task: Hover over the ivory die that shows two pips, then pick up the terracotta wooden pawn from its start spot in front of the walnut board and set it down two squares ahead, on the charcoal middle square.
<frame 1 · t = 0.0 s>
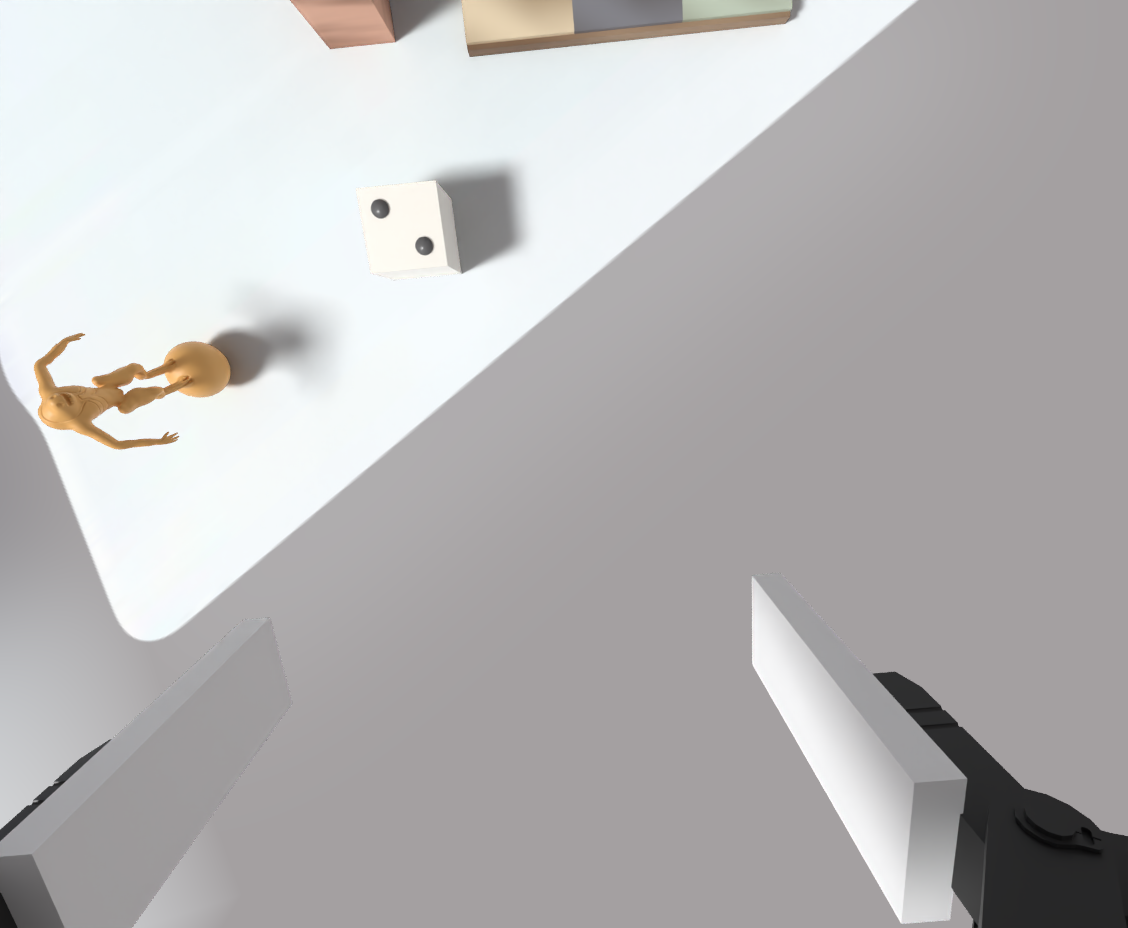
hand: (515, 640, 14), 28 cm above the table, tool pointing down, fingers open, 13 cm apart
die: (422, 240, 38), on the table
pawn: (356, 6, 34), on the table
figurine: (207, 375, 40), on the table
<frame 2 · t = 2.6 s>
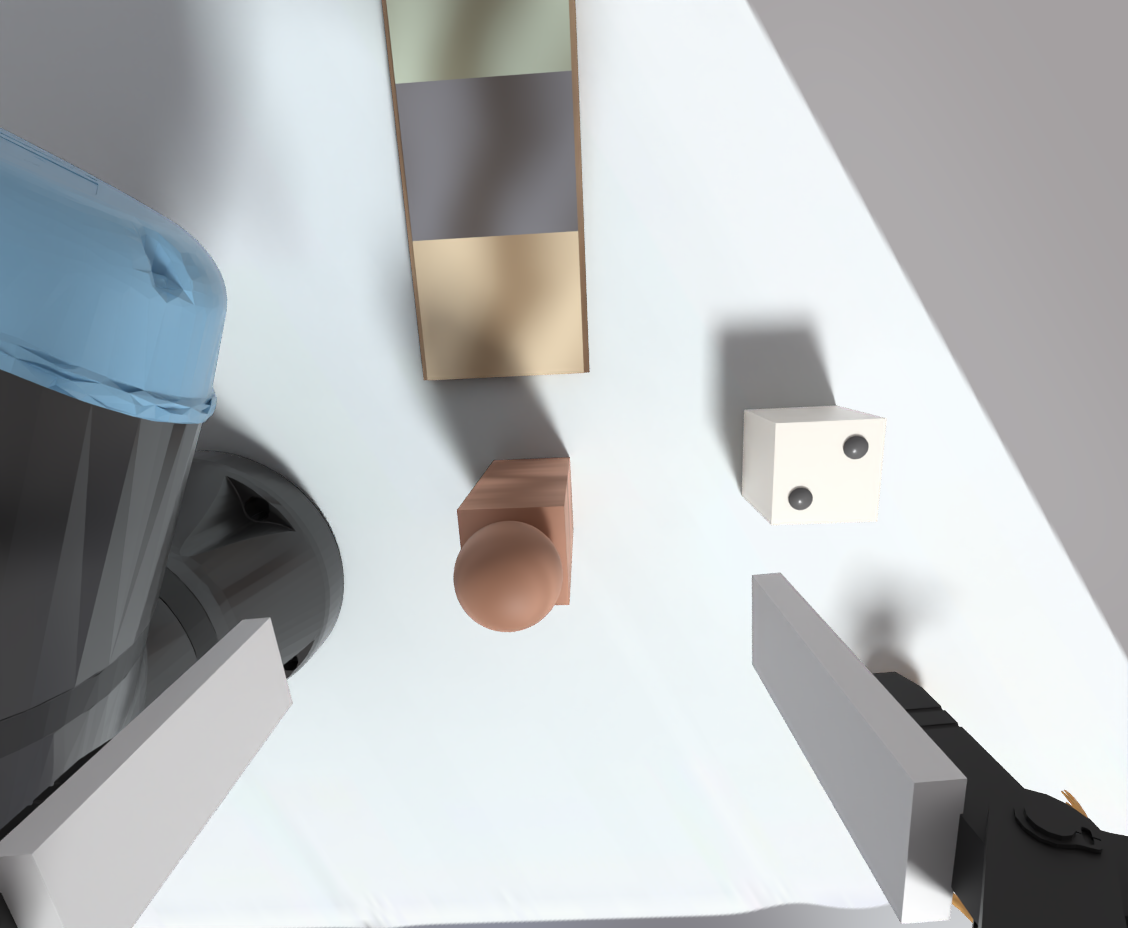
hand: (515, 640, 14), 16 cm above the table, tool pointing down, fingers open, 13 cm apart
die: (787, 451, 29), on the table
pawn: (534, 495, 31), on the table
board: (492, 166, 27), on the table
figurine: (900, 721, 33), on the table
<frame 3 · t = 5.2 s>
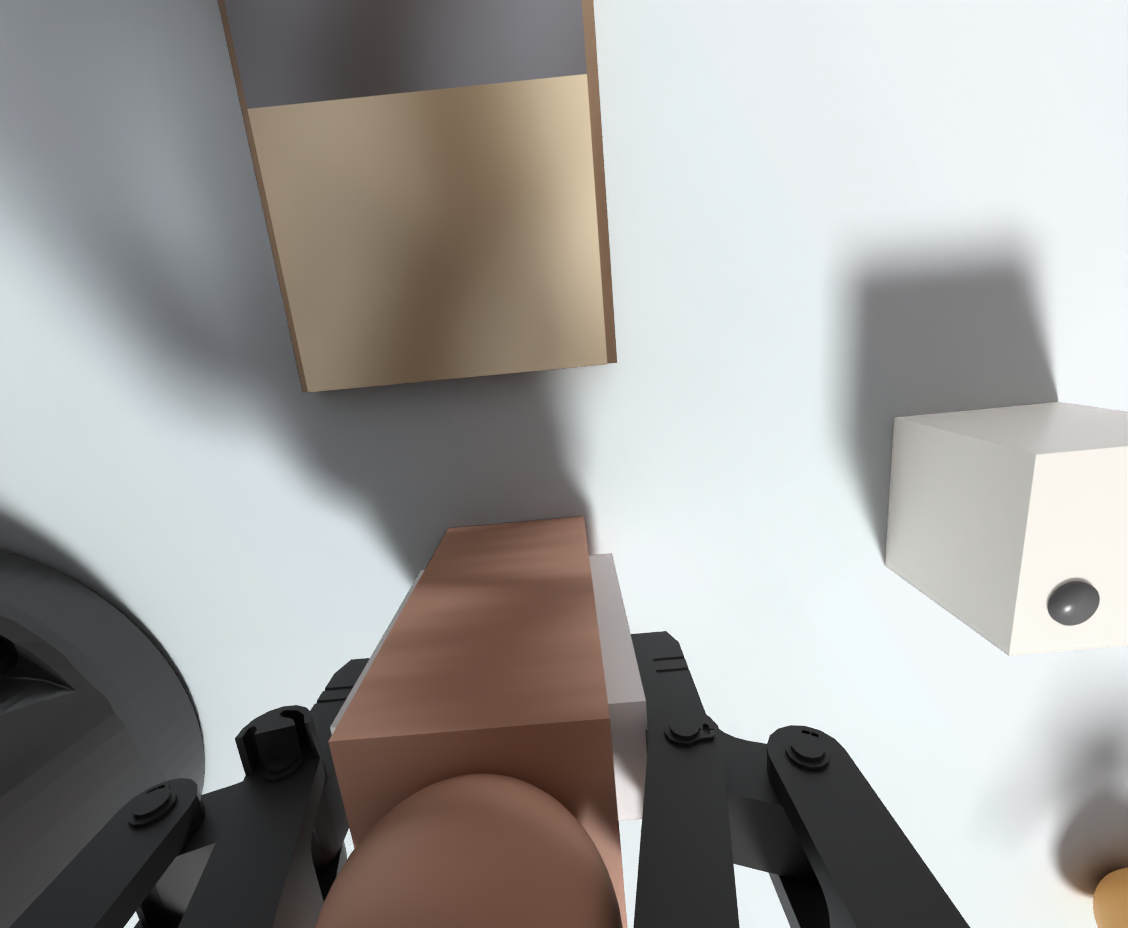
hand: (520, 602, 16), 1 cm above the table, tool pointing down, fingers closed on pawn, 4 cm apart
die: (966, 486, 17), on the table
pawn: (523, 584, 17), on the table, touching gripper
figurine: (1119, 890, 21), on the table
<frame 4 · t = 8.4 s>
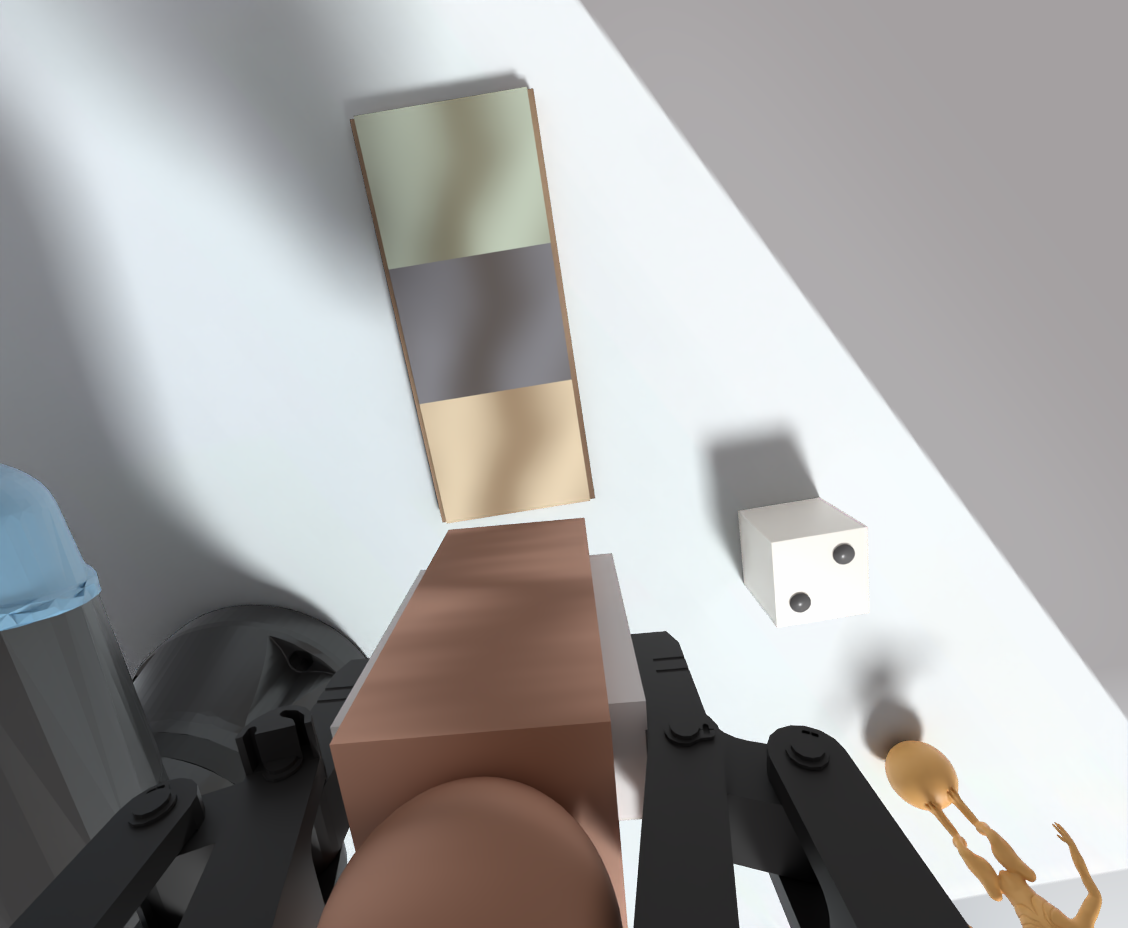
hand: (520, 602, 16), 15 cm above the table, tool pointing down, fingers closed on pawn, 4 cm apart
die: (780, 541, 32), on the table
pawn: (523, 585, 17), point 14 cm above the table, touching gripper
board: (485, 326, 29), on the table
figurine: (906, 757, 37), on the table
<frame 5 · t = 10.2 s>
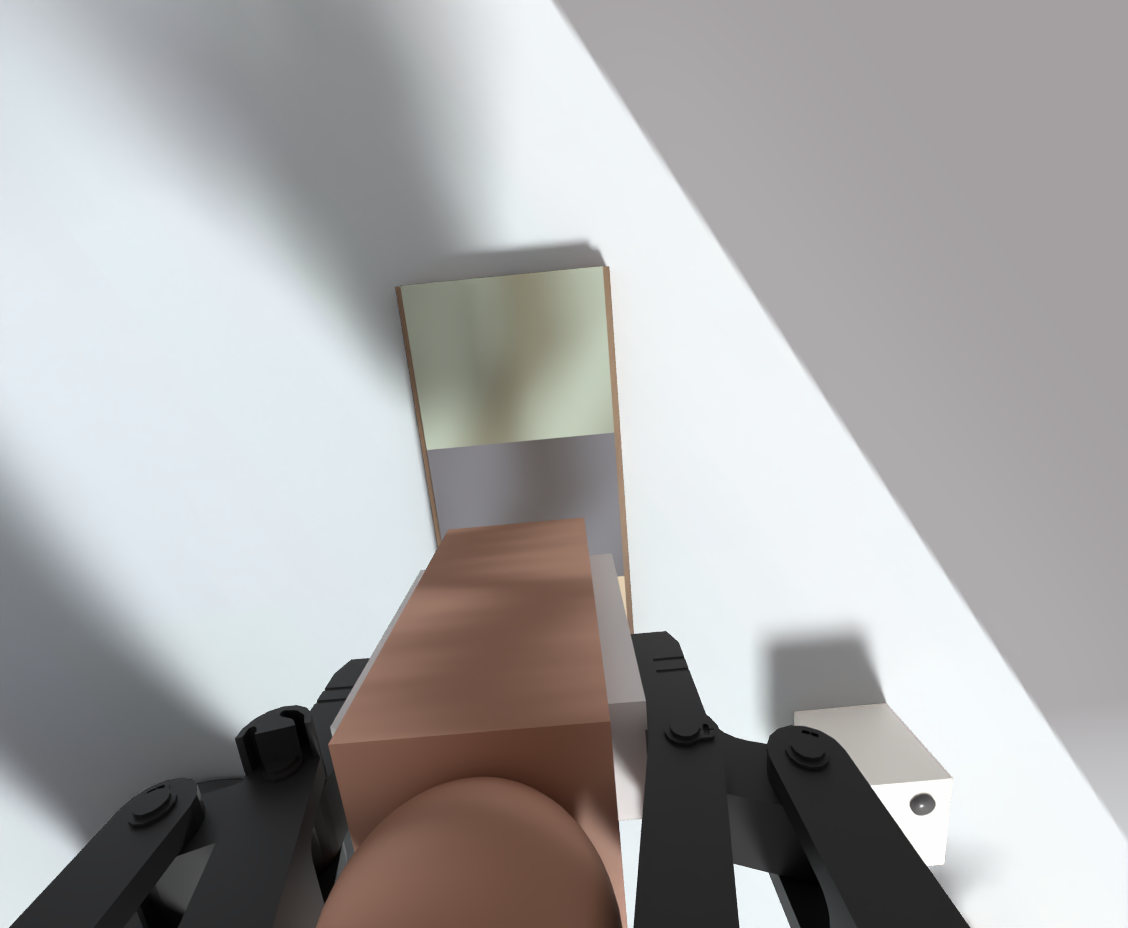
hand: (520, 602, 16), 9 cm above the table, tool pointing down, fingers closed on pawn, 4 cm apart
die: (837, 744, 29), on the table
pawn: (523, 585, 17), point 8 cm above the table, touching gripper
board: (530, 507, 25), on the table
when the fingers open (3 cm above the table, at t = 11.9 s): pawn stays where it is, resting on board.
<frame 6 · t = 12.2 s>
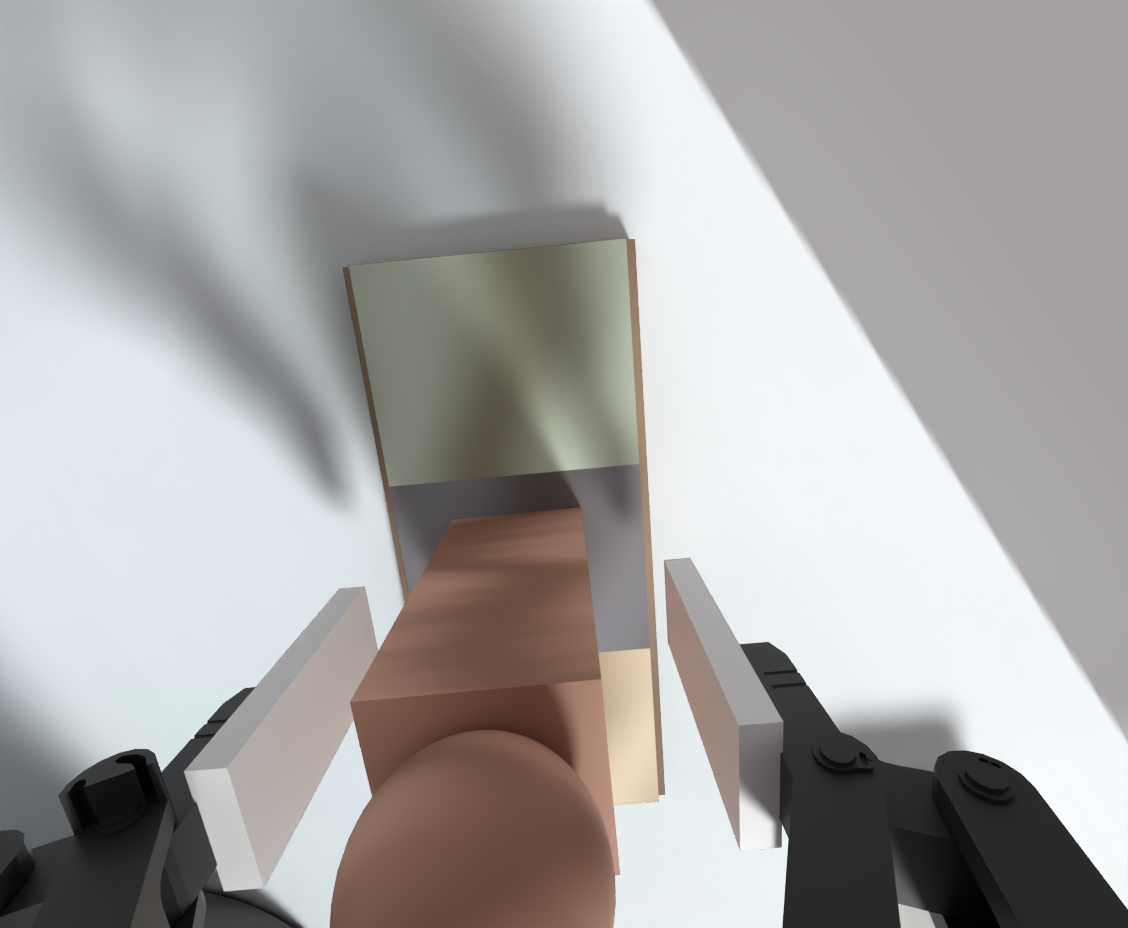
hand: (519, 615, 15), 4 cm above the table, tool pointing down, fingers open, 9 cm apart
die: (913, 847, 23), on the table
pawn: (524, 572, 18), point 1 cm above the table, touching board
board: (527, 557, 19), on the table
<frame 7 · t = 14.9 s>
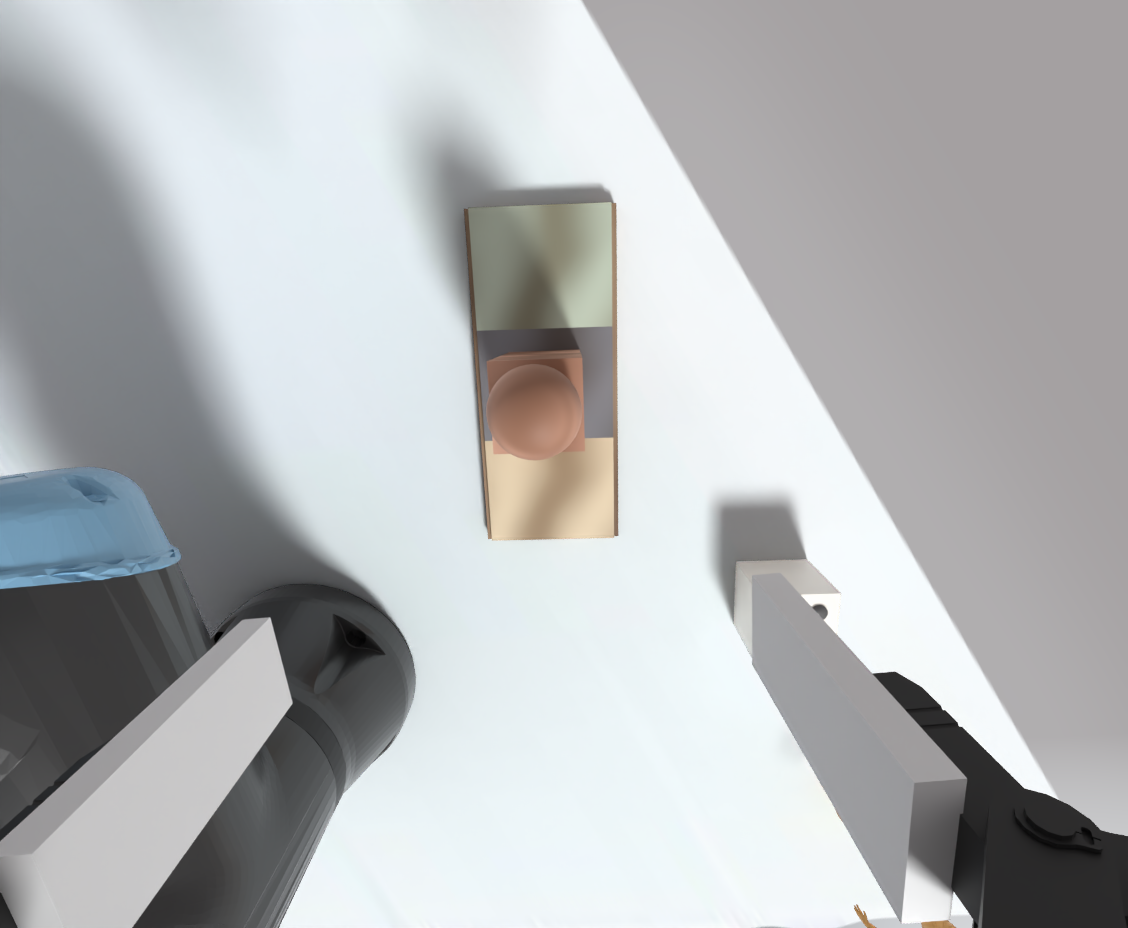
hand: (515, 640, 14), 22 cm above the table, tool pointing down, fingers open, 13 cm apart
die: (768, 591, 38), on the table
pawn: (546, 386, 33), point 1 cm above the table, touching board
board: (547, 383, 34), on the table
figurine: (852, 789, 42), on the table
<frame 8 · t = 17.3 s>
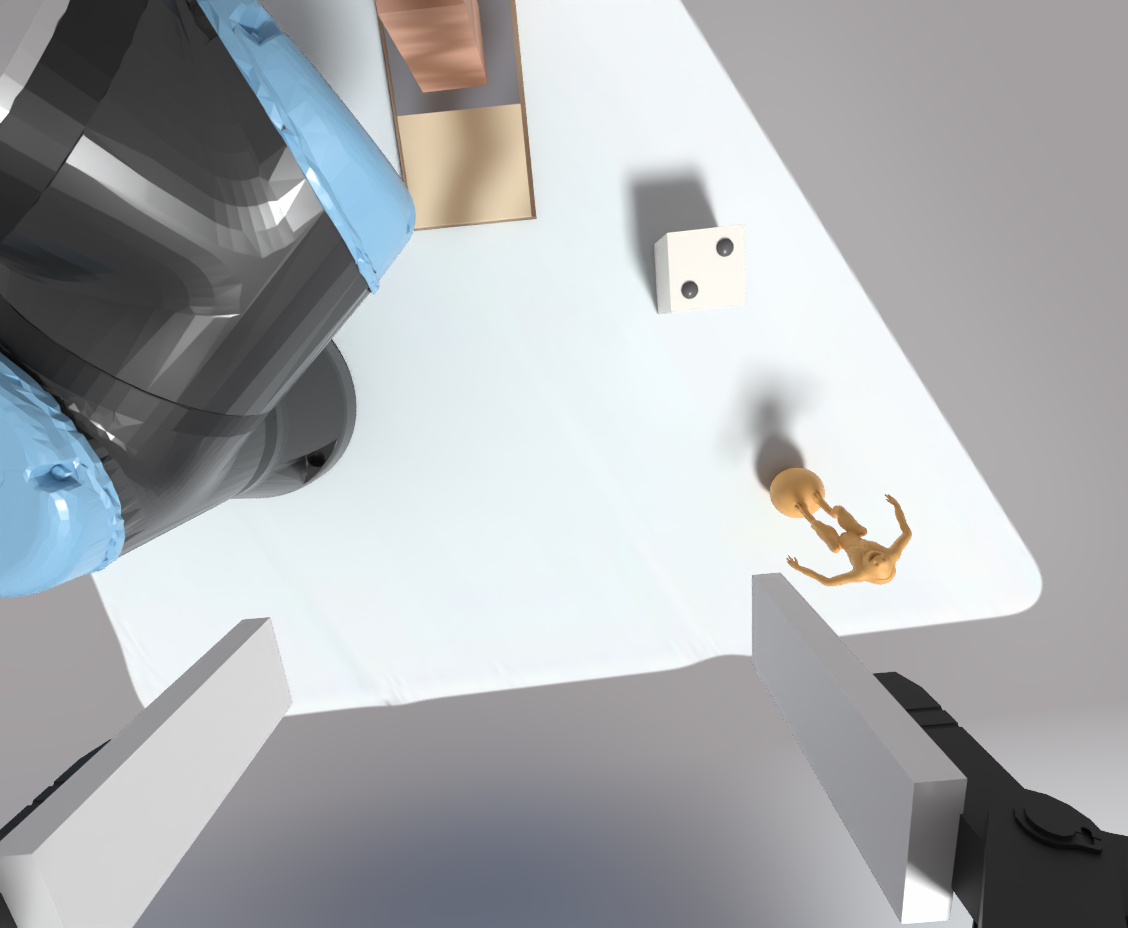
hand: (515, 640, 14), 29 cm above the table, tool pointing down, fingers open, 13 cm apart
die: (689, 276, 39), on the table
pawn: (450, 50, 34), point 1 cm above the table, touching board
board: (454, 58, 35), on the table
figurine: (791, 494, 44), on the table
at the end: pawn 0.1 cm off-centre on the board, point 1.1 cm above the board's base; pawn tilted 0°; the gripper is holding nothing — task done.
